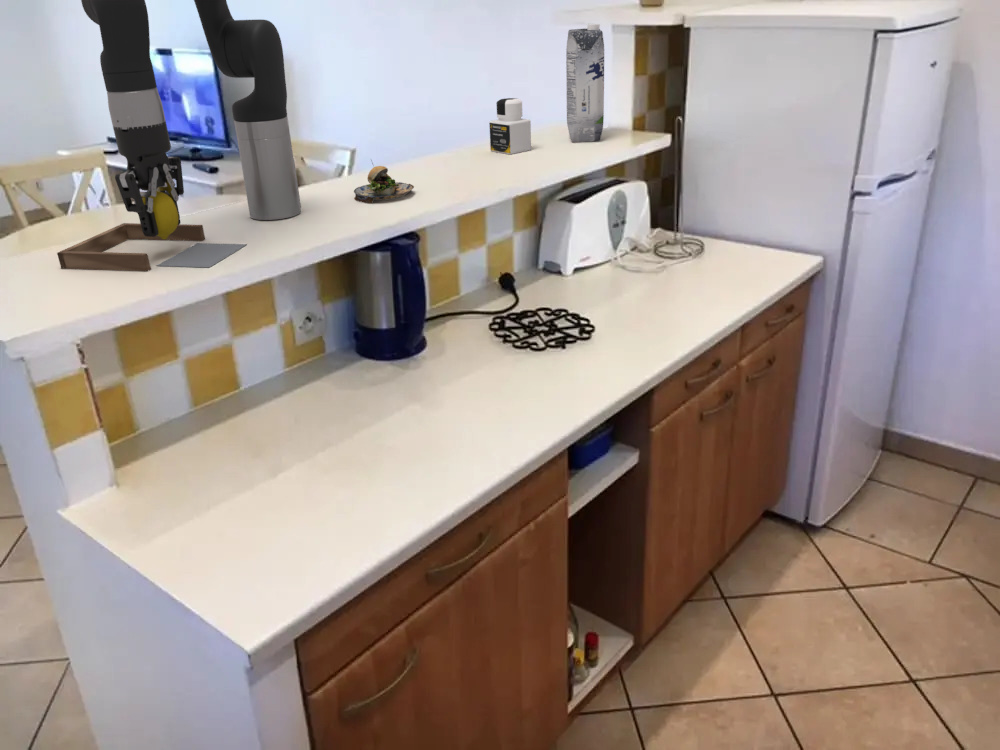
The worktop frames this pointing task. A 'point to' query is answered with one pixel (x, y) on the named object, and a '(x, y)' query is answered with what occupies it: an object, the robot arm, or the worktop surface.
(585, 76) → the juice carton
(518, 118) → the medicine bottle
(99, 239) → the bay
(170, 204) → the lemon
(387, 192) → the burger
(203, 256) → the mat
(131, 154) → the robot arm
